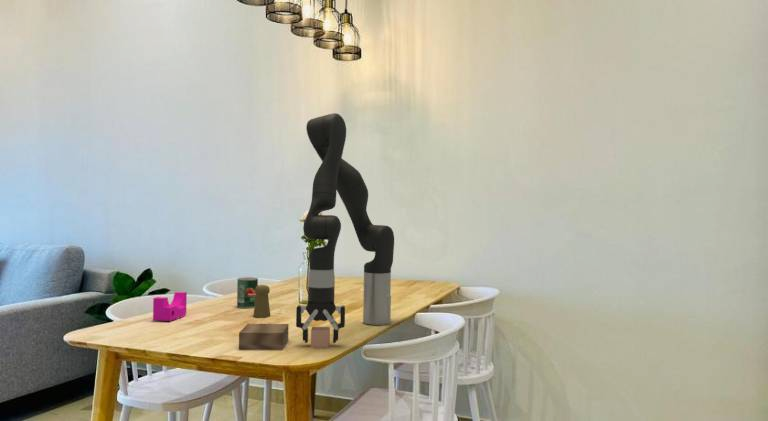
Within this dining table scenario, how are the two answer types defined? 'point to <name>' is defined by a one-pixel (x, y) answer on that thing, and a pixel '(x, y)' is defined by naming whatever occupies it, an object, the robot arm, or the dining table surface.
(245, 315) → the dining table surface
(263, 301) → the cork
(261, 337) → the walnut base block
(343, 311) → the robot arm
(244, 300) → the canned tomato
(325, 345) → the terracotta cube
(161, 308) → the toy block
